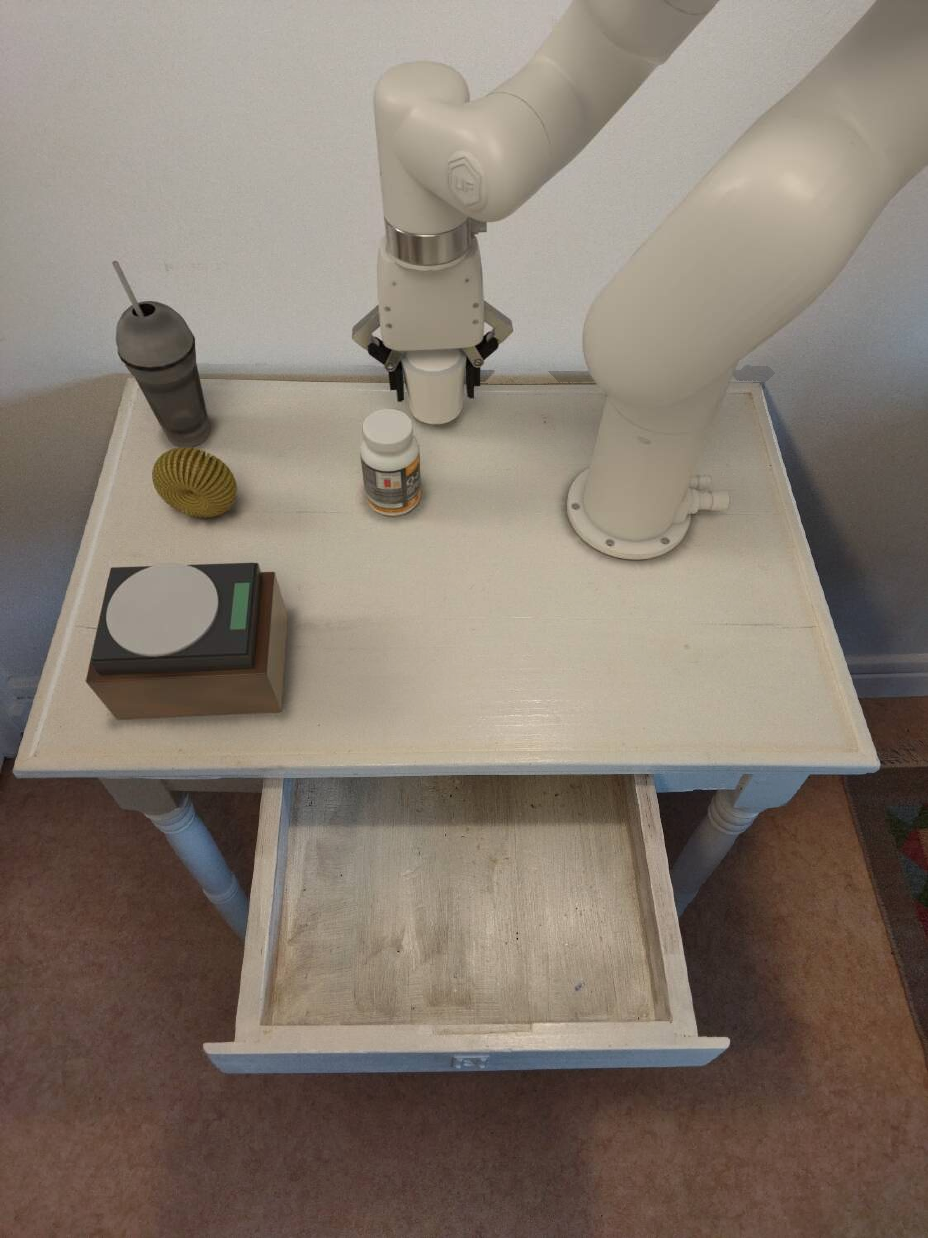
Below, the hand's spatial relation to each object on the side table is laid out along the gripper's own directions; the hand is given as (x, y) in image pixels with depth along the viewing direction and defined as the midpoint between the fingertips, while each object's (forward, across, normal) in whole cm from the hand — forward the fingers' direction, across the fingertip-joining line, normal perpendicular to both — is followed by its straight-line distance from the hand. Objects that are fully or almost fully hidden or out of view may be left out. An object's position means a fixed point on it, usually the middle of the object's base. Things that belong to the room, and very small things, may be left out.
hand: (435, 390), depth 84 cm
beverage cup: (+3, +27, +1) cm, 27 cm away
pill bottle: (+4, +5, +11) cm, 13 cm away
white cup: (+2, 0, 0) cm, 2 cm away
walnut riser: (+4, +22, +30) cm, 38 cm away
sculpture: (+4, +24, +12) cm, 27 cm away
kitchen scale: (-3, +22, +30) cm, 38 cm away
